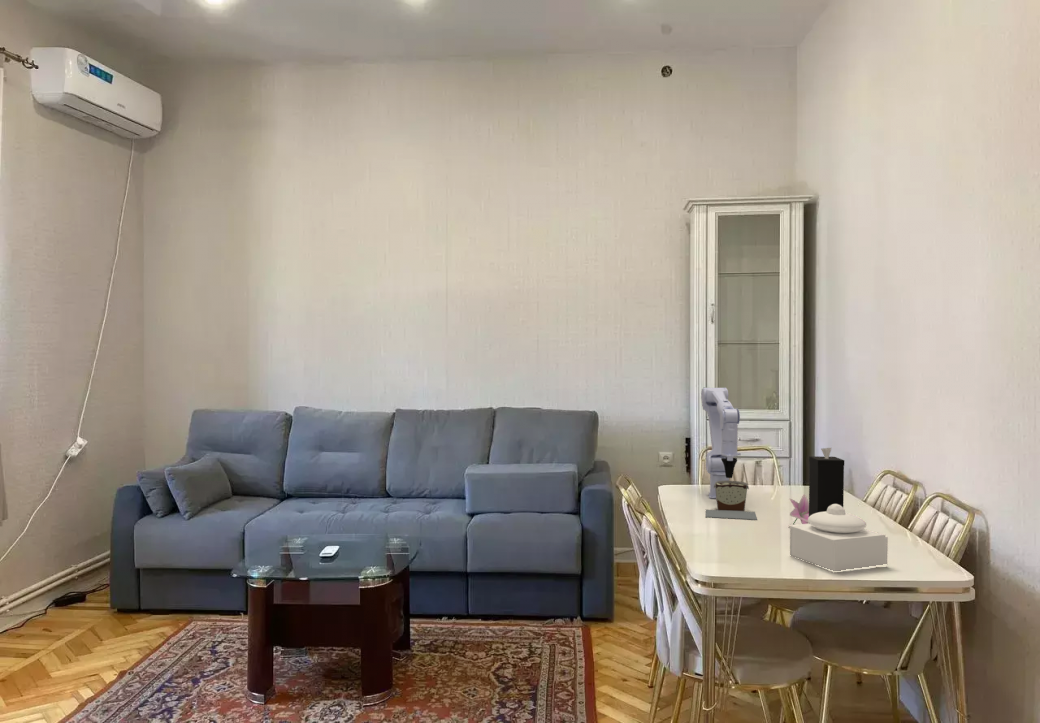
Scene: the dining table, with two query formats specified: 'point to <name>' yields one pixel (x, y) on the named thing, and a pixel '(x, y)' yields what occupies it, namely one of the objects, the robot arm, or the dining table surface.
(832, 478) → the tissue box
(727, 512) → the mat
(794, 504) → the lily
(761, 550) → the dining table surface
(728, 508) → the food container
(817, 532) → the butter dish
